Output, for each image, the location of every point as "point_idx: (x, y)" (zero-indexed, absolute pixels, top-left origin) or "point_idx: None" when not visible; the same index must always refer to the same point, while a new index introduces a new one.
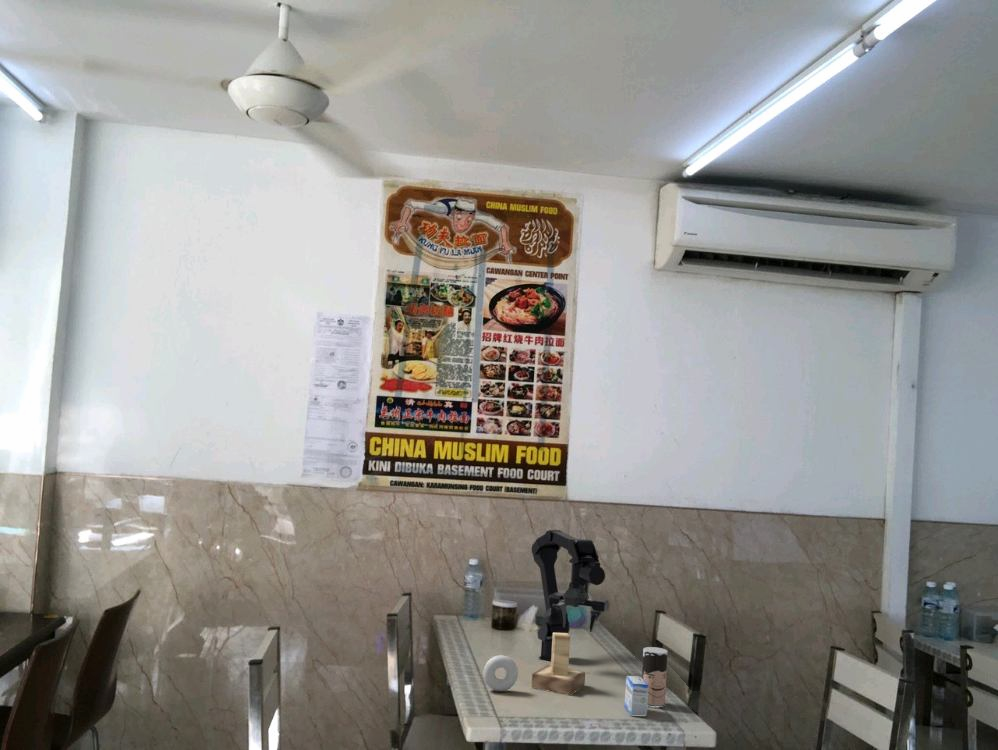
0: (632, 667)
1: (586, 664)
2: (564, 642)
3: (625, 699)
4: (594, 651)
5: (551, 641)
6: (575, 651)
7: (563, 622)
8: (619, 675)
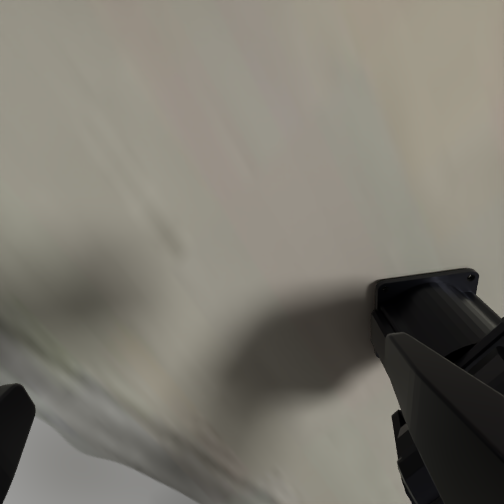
0: (104, 428)
1: (253, 346)
2: None
3: None
4: (318, 487)
5: (465, 346)
6: (374, 451)
7: (419, 379)
8: (49, 306)
